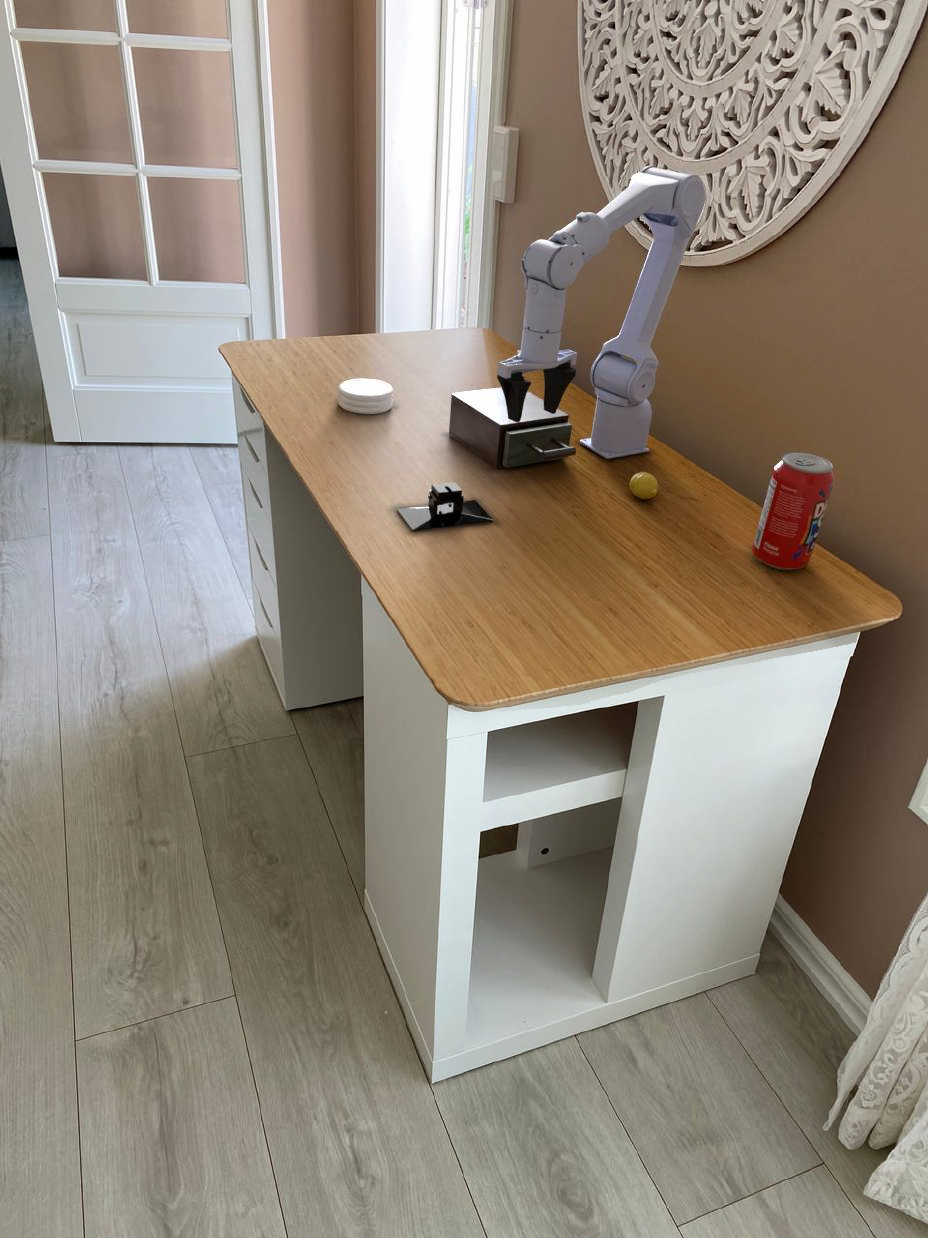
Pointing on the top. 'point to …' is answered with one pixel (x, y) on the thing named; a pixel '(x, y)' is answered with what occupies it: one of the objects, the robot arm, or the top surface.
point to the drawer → (536, 443)
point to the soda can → (793, 510)
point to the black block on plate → (444, 510)
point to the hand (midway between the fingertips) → (532, 415)
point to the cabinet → (492, 420)
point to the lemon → (644, 485)
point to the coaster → (365, 396)
